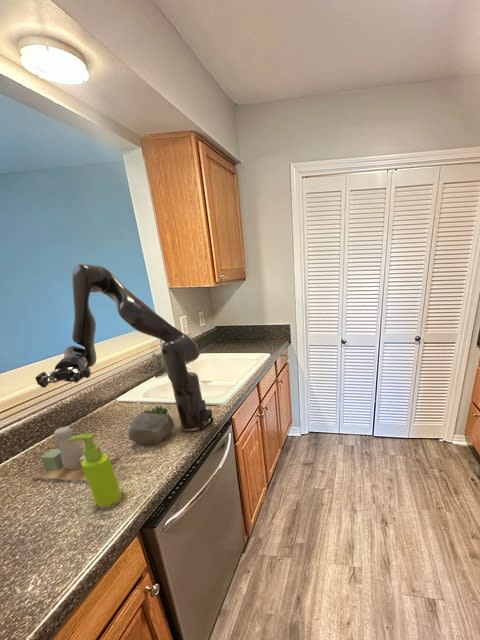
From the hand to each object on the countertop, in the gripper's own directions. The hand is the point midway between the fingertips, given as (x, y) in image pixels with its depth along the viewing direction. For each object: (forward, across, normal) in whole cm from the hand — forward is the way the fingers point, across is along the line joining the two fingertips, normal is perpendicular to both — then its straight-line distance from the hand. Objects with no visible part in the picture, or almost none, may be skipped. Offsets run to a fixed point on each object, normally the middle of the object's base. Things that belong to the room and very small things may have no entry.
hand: (59, 382), depth 99 cm
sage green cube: (+8, -6, +24) cm, 26 cm away
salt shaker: (+11, 0, +24) cm, 27 cm away
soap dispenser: (+32, +11, +25) cm, 42 cm away
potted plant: (+2, +22, +25) cm, 34 cm away
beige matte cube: (+14, +6, +24) cm, 29 cm away
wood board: (+11, 0, +25) cm, 27 cm away
